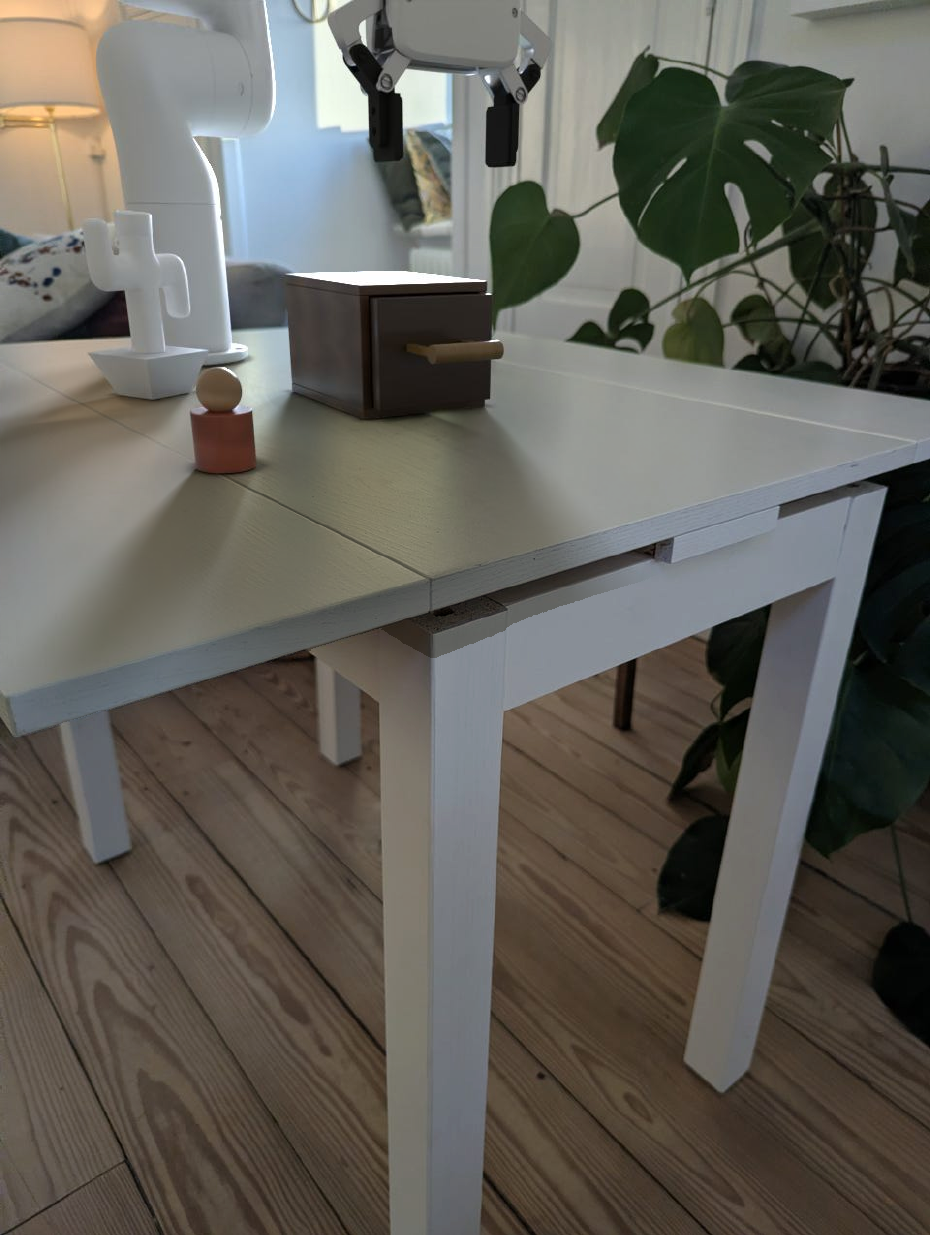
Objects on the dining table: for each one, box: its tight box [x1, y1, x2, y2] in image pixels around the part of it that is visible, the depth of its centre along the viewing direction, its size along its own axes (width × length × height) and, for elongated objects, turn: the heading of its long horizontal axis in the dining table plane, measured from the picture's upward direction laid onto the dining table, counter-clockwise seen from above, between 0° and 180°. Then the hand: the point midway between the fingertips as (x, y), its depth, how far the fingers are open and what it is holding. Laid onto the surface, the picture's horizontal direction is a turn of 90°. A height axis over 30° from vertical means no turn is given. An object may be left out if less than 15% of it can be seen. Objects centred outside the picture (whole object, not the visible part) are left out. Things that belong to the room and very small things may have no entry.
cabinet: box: [284, 270, 488, 421], centre depth 78 cm, size 15×12×10 cm
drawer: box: [369, 293, 505, 411], centre depth 75 cm, size 18×10×8 cm, turn 33°
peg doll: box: [189, 366, 258, 475], centre depth 57 cm, size 4×4×6 cm
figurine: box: [81, 209, 209, 401], centre depth 78 cm, size 7×9×15 cm
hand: (446, 163), depth 65 cm, fingers open, 9 cm apart
